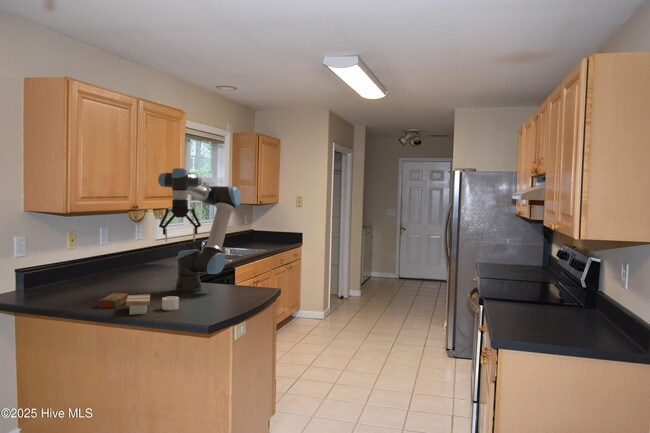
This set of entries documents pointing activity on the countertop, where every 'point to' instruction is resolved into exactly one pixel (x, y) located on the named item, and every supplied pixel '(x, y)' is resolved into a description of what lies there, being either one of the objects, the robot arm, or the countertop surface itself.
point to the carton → (113, 300)
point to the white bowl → (170, 303)
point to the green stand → (138, 309)
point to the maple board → (138, 300)
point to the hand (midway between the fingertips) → (180, 241)
